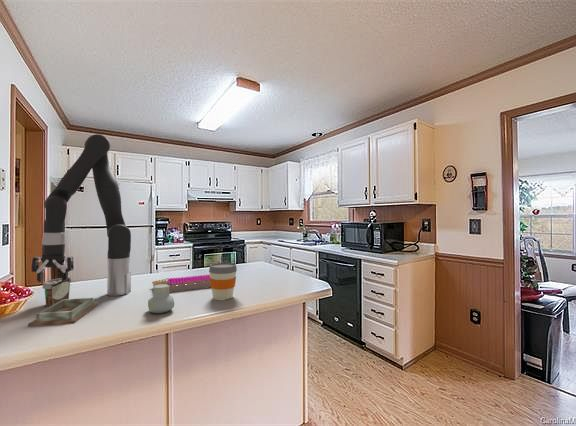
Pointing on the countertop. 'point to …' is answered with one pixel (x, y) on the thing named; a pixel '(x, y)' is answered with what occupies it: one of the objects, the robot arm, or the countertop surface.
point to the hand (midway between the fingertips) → (52, 281)
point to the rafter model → (201, 282)
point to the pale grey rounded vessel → (160, 299)
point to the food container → (56, 290)
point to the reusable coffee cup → (222, 280)
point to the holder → (64, 312)
